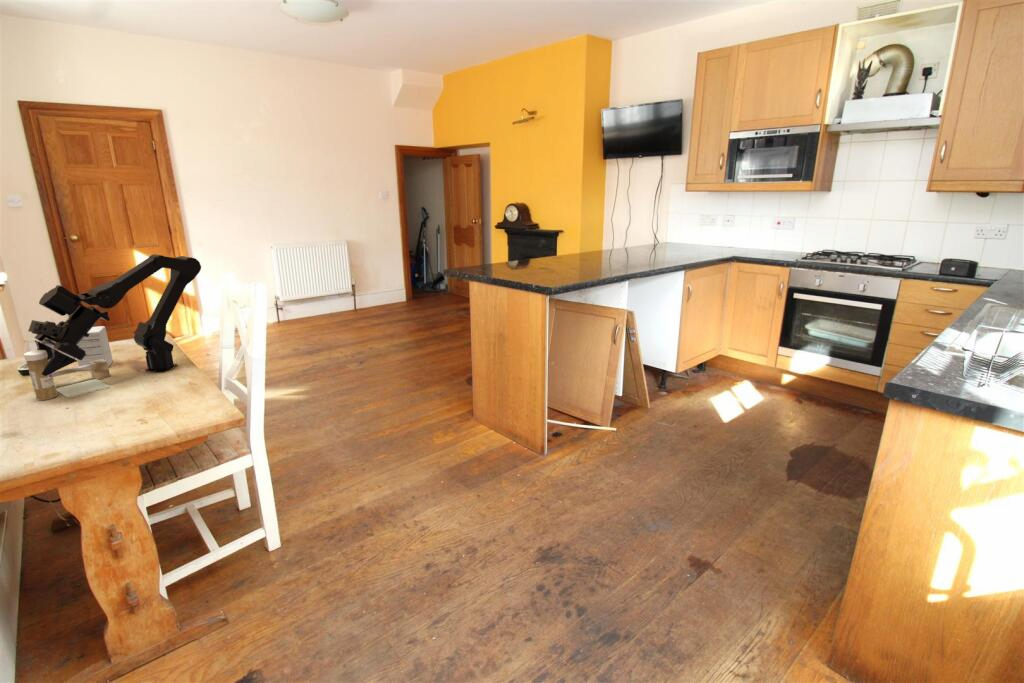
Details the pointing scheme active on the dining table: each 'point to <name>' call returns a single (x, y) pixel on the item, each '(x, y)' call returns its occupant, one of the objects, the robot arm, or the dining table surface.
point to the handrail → (97, 369)
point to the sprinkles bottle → (40, 374)
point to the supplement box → (95, 346)
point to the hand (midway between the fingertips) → (37, 371)
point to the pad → (82, 388)
